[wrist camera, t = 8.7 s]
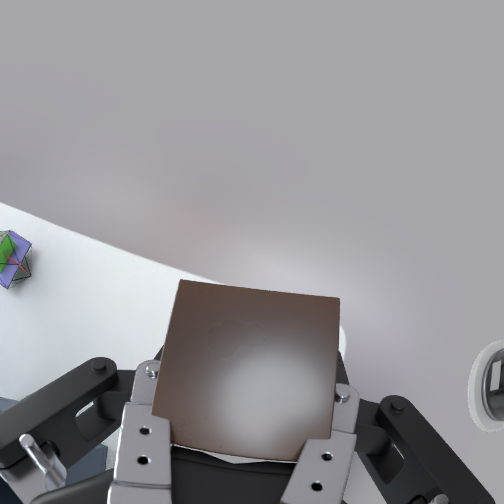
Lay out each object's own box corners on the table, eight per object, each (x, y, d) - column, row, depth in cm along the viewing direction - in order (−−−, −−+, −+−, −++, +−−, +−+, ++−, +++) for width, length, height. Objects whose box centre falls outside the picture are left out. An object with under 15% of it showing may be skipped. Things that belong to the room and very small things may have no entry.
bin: (108, 446, 19) (68, 452, 13) (101, 541, 13) (68, 561, 7) (19, 401, 20) (-22, 391, 14) (14, 488, 14) (-24, 491, 8)
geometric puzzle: (47, 250, 27) (0, 211, 23) (21, 300, 24) (-29, 261, 19) (40, 256, 32) (0, 223, 27) (19, 298, 29) (-24, 266, 24)
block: (284, 430, 14) (327, 462, 5) (207, 420, 14) (146, 436, 6) (293, 358, 16) (340, 297, 7) (219, 349, 16) (179, 278, 8)
